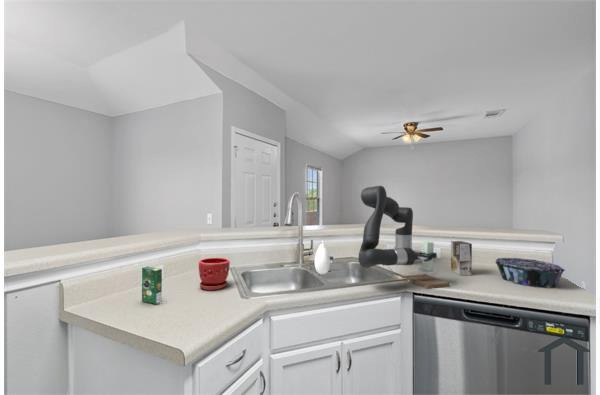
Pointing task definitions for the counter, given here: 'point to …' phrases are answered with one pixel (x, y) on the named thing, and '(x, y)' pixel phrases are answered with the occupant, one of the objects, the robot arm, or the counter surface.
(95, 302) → the counter surface
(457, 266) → the coffee box
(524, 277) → the decorative bowl
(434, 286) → the wooden cutting board
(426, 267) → the mint green tall block
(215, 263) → the plant pot
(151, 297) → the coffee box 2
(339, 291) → the counter surface
